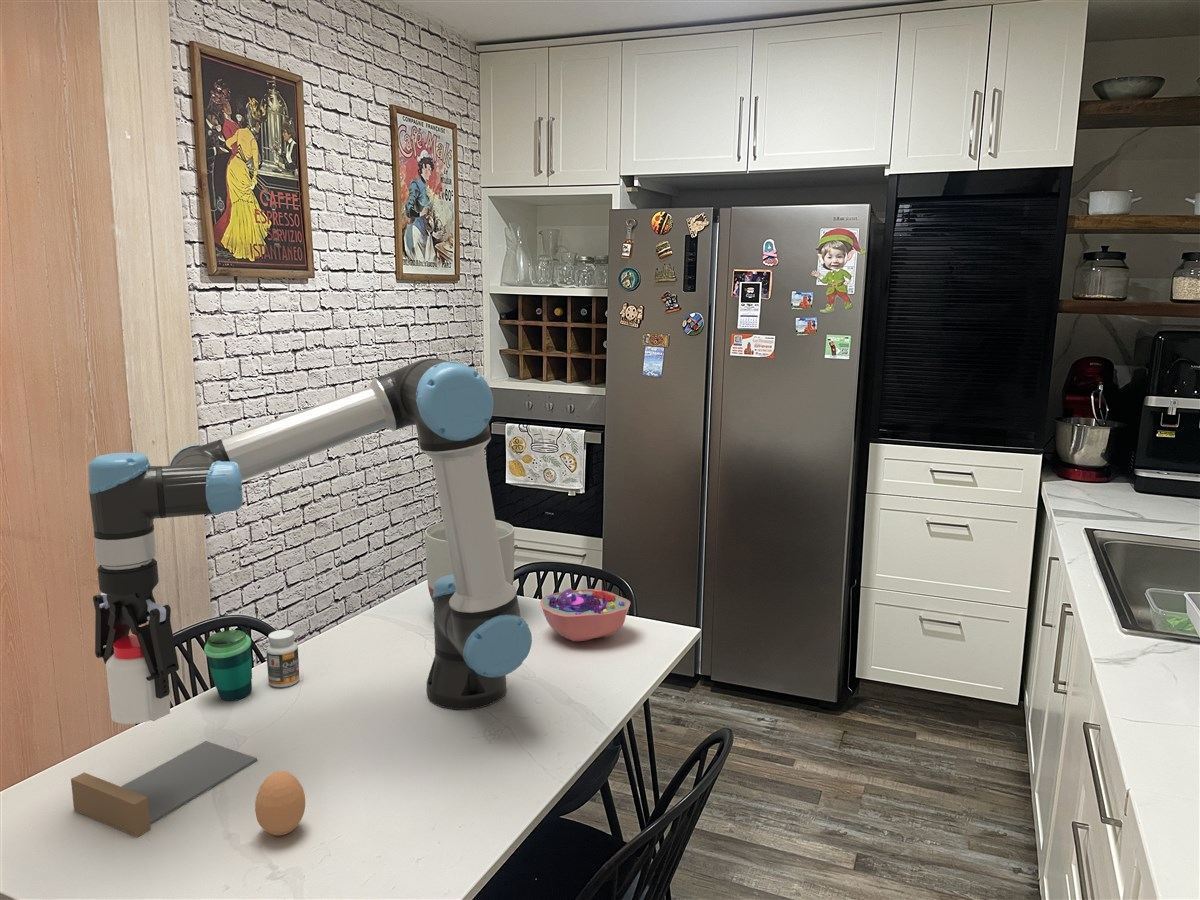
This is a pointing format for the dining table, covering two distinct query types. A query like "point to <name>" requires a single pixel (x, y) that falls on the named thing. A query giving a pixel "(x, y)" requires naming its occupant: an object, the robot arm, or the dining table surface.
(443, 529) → the planter
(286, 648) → the pill bottle
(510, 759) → the dining table surface
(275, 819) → the egg
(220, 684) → the cup
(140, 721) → the pill bottle
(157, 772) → the track
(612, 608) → the cell model
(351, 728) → the dining table surface
